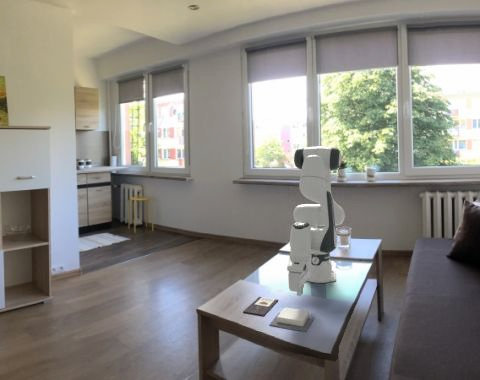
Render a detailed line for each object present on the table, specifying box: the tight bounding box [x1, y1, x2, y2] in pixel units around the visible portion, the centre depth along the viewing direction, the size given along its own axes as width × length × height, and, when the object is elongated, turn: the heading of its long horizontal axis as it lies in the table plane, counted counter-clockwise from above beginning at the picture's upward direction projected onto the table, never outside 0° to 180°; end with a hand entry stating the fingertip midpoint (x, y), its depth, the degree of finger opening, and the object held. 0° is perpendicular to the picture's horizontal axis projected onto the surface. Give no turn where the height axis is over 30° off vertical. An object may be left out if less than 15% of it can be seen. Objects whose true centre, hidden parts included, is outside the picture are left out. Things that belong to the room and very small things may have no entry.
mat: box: [269, 312, 314, 333], centre depth 146 cm, size 12×14×1 cm
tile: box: [276, 307, 310, 326], centre depth 148 cm, size 2×10×10 cm
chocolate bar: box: [242, 296, 279, 317], centre depth 162 cm, size 9×1×18 cm
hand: (299, 294), depth 157 cm, fingers closed
